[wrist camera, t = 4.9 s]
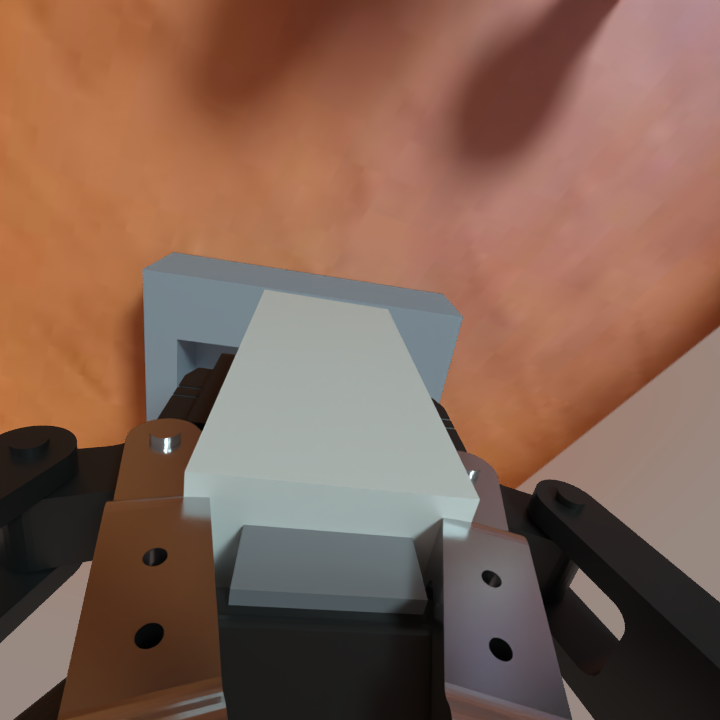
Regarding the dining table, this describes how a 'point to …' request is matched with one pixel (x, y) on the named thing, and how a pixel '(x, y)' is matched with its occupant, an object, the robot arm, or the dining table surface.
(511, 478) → the dining table surface
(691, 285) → the dining table surface
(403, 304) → the socket board
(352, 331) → the plug
